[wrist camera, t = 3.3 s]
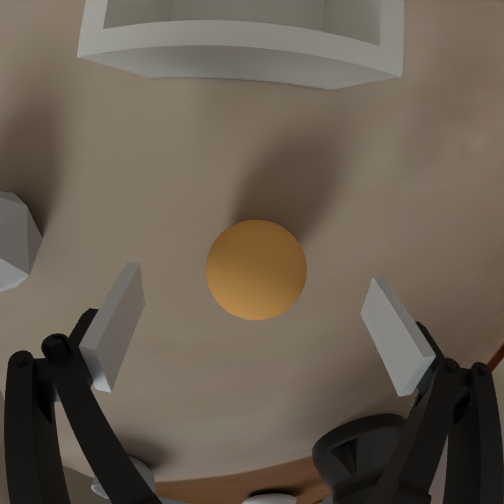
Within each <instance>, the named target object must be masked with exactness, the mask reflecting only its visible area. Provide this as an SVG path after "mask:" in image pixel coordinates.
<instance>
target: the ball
mask: <svg viewBox="0 0 504 504" xmlns="http://www.w3.org/2000/svg"><path fill="white" fill-rule="evenodd" d="M306 275H307V264H306V259H305V255H304V252H303V250H302V248H301V246H300V244H299V242H298V241H297V239H296V238H295V237H294V236H293V235H292V234H291V233H290V232H289V231H288V230H286V229H285V228H284V227H282V226H280V225H278V224H276V223H274V222H270V221H266V220H246V221H242V222H239V223H237V224H234V225H232V226H231V227H229V228H227V229H226V230H225V231H224V232H222V233H221V234H220V235H219V237H218V238H217V239H216V240H215V242H214V243H213V245H212V247H211V249H210V251H209V254H208V257H207V261H206V278H207V283H208V286H209V289H210V291H211V293H212V295H213V297H214V298H215V300H216V301H217V302H218V303H219V304H220V305H221V306H222V307H223V308H224V309H225V310H226V311H228V312H229V313H231V314H233V315H235V316H237V317H240V318H243V319H247V320H265V319H270V318H273V317H276V316H278V315H280V314H282V313H283V312H285V311H286V310H287V309H289V308H290V307H291V306H292V305H293V304H294V303H295V302H296V300H297V299H298V297H299V296H300V294H301V292H302V290H303V288H304V284H305V281H306Z"/></svg>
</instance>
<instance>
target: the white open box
mask: <svg viewBox="0 0 504 504" xmlns="http://www.w3.org/2000/svg"><path fill="white" fill-rule="evenodd" d="M403 50H404V0H86V4H85V9H84V14H83V20H82V26H81V32H80V38H79V45H78V53H77V57H78V58H82V59H86V60H90V61H93V62H97V63H101V64H104V65H108V66H111V67H115V68H118V69H122V70H125V71H128V72H131V73H134V74H137V75H141V76H144V77H147V78H150V79H156V78H224V79H242V80H255V81H266V82H275V83H283V84H291V85H298V86H305V87H312V88H318V89H323V90H329V91H330V90H335V89H339V88H344V87H349V86H354V85H359V84H364V83H369V82H375V81H381V80H387V79H394V78H401V77H402V68H403Z"/></svg>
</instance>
